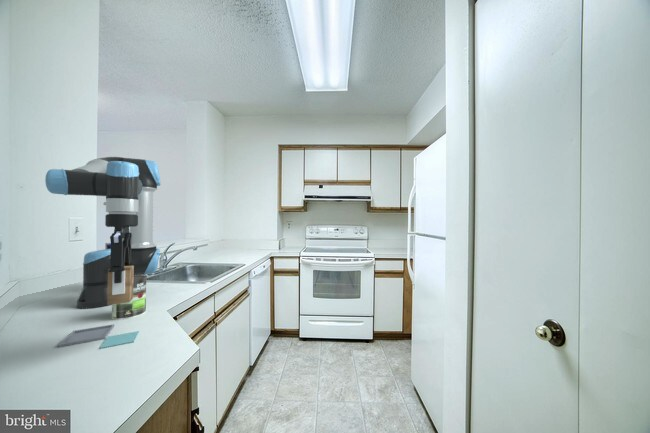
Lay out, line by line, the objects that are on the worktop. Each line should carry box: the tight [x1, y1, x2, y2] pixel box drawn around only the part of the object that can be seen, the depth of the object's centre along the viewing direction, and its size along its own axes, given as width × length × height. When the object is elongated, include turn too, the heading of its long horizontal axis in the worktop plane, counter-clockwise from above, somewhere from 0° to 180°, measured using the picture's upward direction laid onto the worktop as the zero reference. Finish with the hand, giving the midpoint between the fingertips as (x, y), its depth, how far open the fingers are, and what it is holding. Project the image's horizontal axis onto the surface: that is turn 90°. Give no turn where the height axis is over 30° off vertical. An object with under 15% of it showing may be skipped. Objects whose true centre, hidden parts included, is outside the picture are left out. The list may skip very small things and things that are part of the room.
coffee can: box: [111, 275, 147, 321], centre depth 92 cm, size 10×10×14 cm
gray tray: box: [57, 323, 115, 349], centre depth 74 cm, size 10×10×1 cm
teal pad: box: [99, 330, 140, 350], centre depth 72 cm, size 8×8×1 cm
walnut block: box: [107, 266, 134, 306], centre depth 72 cm, size 5×5×10 cm
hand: (121, 291), depth 72 cm, fingers closed on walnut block, 5 cm apart
